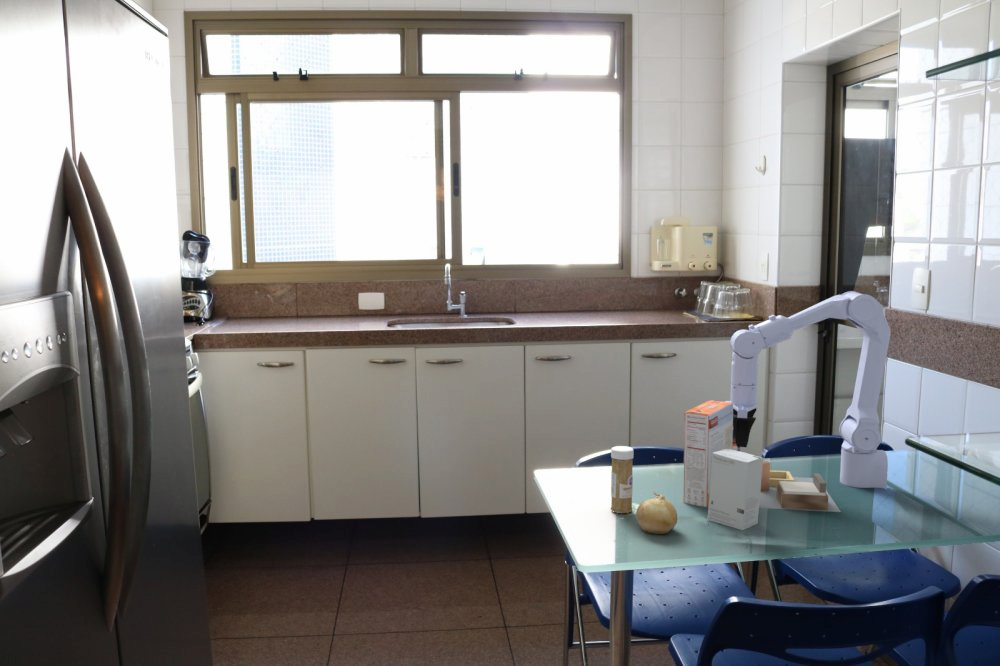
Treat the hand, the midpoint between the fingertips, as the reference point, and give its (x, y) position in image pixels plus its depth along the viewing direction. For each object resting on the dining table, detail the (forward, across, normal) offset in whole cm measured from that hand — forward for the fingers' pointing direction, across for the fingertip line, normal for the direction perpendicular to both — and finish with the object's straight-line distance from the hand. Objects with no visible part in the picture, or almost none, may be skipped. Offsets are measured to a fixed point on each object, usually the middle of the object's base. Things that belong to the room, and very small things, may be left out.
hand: (742, 442), depth 192 cm
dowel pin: (+9, +6, +4) cm, 11 cm away
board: (+10, +6, +10) cm, 16 cm away
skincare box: (+10, +28, 0) cm, 30 cm away
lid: (+6, +13, +13) cm, 19 cm away
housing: (+9, +14, +12) cm, 20 cm away
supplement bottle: (+10, -7, -4) cm, 13 cm away
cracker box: (+10, +14, -7) cm, 19 cm away
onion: (+10, +34, -15) cm, 39 cm away
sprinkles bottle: (+10, +26, -23) cm, 36 cm away
